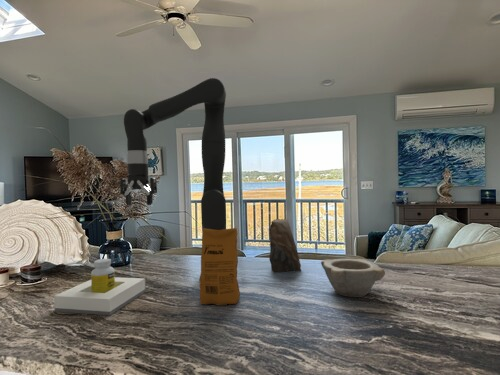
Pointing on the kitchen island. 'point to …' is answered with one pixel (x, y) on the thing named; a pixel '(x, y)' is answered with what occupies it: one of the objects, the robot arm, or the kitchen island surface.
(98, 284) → the pill bottle
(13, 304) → the kitchen island surface
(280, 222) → the brown rock
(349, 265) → the mortar
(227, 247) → the coffee package
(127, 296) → the socket block
